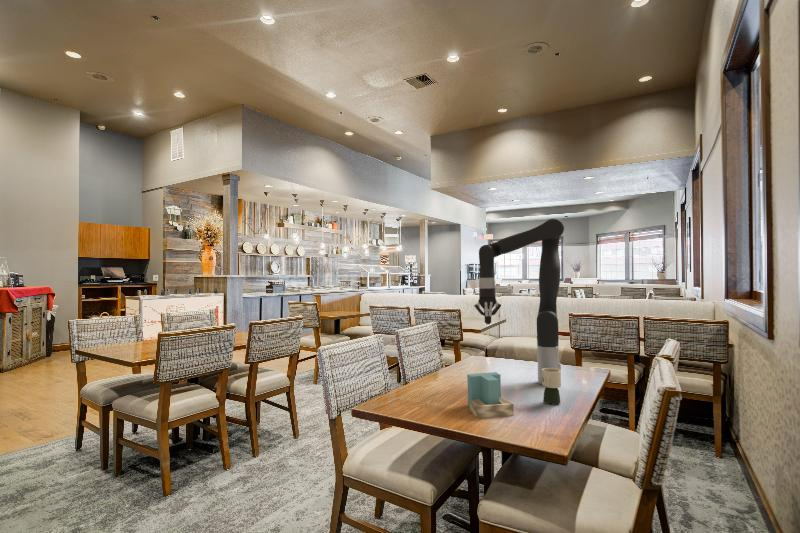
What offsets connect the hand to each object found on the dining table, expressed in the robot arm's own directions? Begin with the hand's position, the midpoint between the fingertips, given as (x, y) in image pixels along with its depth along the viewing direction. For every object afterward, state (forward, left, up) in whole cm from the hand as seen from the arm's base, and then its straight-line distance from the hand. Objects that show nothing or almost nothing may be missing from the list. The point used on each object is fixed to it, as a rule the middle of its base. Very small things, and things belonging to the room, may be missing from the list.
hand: (487, 324), depth 199 cm
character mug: (-16, +34, -27) cm, 46 cm away
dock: (+10, +43, -27) cm, 52 cm away
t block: (+10, +37, -27) cm, 47 cm away
